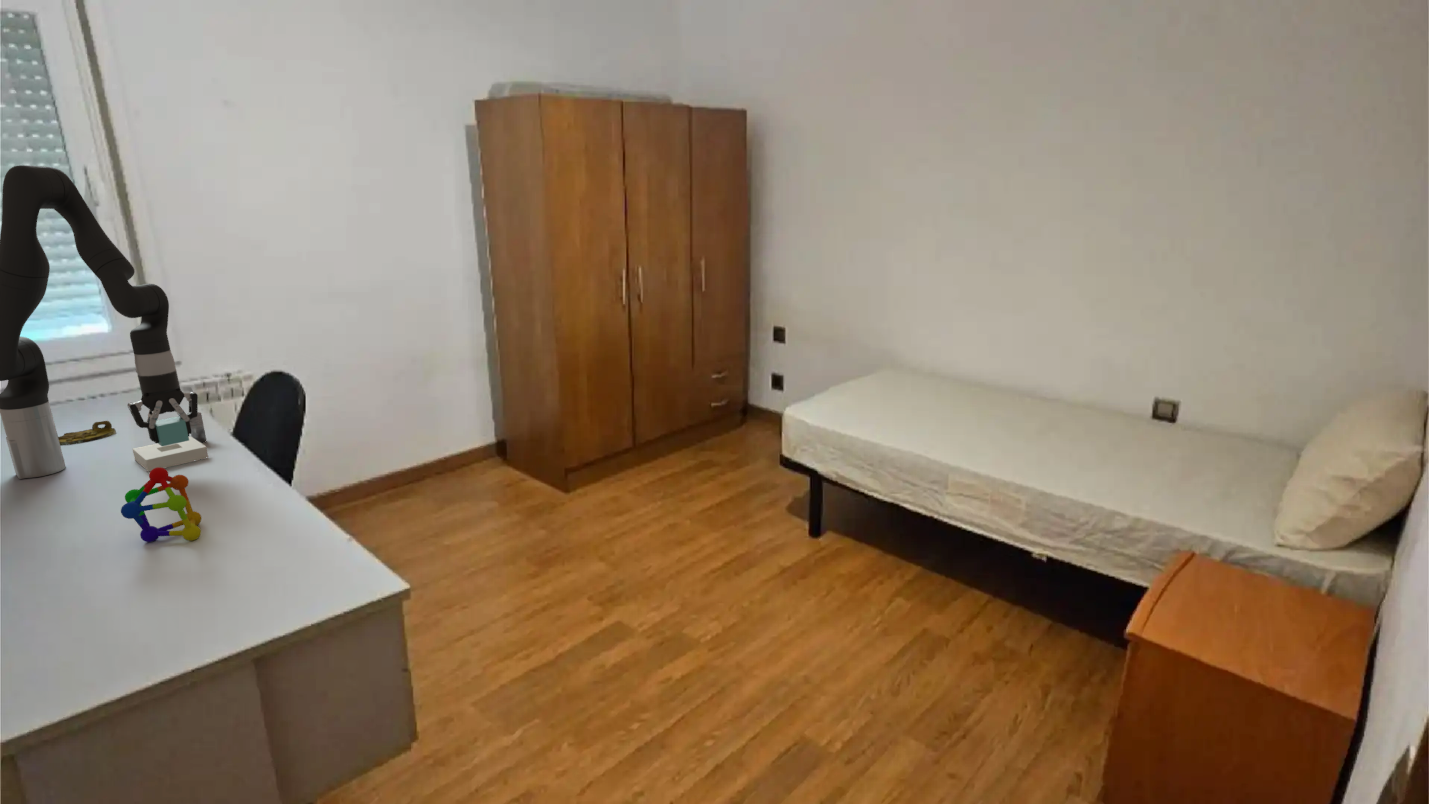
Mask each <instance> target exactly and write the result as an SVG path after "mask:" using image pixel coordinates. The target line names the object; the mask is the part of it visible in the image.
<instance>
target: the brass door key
mask: <svg viewBox="0 0 1429 804" xmlns="http://www.w3.org/2000/svg"><path fill="white" fill-rule="evenodd" d="M103 425H104V426H103ZM99 426H103V427H99ZM91 427H92V428H89V429H85V430H79V431H75V432H66V433H64V434H63V435H60V436H58V438H59V442H60V446H69V445H68V444H70V445H76V443H77V444H82V443H88V442H92V441H97V440H100V439H105V438H107V437H110V436H114V435H115V434H117V431H116V429H115V428H113V426H112V423H111V421H109V420H102V421H101V420H100V421H96V422H94V423H93V424H92V426H91ZM66 444H67V445H66Z"/></svg>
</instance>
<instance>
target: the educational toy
mask: <svg viewBox="0 0 1429 804" xmlns="http://www.w3.org/2000/svg"><path fill="white" fill-rule="evenodd" d="M148 478H149V480H148V481H147V482H145V484H143V485H142V486H141V487H140V488H138V489H137V488H134V489H130V490H129V491H127V492H126V493H125V496H124V500H125V502H126V503H124V504H123V505H122V507H121V508H120V514H121V515H122V517H123V518H126V519H128V520H130V519H131V520H132V519H134V522H135V523H137V525H138V526H139V527H140V528H141V531H140V533H139V536H140V539H141V540H142V541H144V542H145V543H146V542H147V543H151V542H155V541H157V539H159V537H176V536H177V537H179V536H180V537H181V536H182V537H183V539H185V540H186V541H189V542H191V541H195V540H198V538H200V537H201V533H202V532H201V531H202V529H201V528H200V526H198V525H200V524H201V522H202V518H203V517H202V515H201V514H200V512H198V511H194V510H193V507H192V504H191V502H190V498H189V497H188V493H187V490H186V489H187V487H188V485H189V478H188V477H187V476H185V475H184V474H177V475H174V476H171V475H169V472H168V470H167V469H166V468H161V467H158V468H154V469H153V470H151V471H149V474H148ZM168 482H169V483H168ZM156 484H160V485H159V486H156ZM155 486H156V487H155ZM173 489H174V490H175V491H179V494H175V493H174V490H173ZM163 491H165V493H166V494H167V496H168V499H167V501H163V502H158V503H151V504H146V505H142V502H144V500H145V499H146V497H147V496H151V495H153V494H157V493H160V492H163ZM166 508H168V509H169V510H170V511H173V512H177V513H178V516H179V517H180V520H178V521H176V522H173V523H172V522H171V523H170V524H166V525H164V526H160V527H156V526H154V525H151V524H150V522H149V519H148V517H147V515H146V513H145V512H146V511H151V510H157V509H158V510H159V509H166ZM184 509H185V510H184ZM181 526H184V528H183V529H182V530H172V529H175V528H178V527H181Z"/></svg>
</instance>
